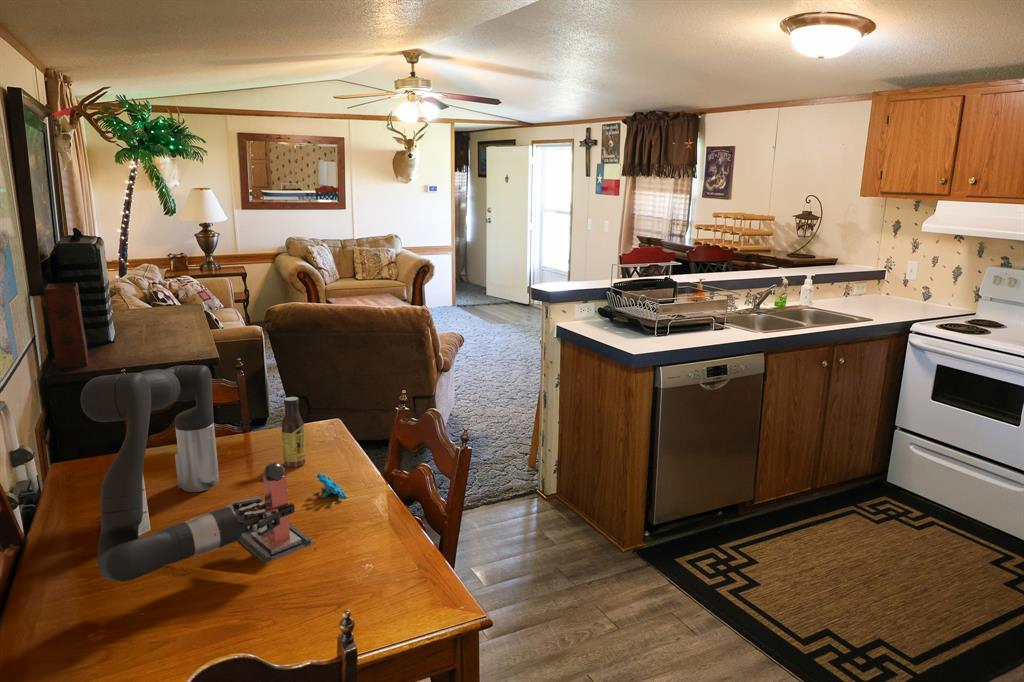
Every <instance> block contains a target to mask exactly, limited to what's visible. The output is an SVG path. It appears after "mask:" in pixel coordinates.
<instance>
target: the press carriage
mask: <svg viewBox="0 0 1024 682" xmlns="http://www.w3.org/2000/svg"><path fill="white" fill-rule="evenodd" d="M285 469H286V468H285V467H284V466H283V465H282V464H281V463H279V462H277V461H276V462H275V461H274V462H270V463H268V464H266V466H265V467H264V470H263V476H262V477H263V479H262V480H263V491H264V493H263V494H264V501H265V507H266V510H272V509H277V508H278V507H281V506H284V505H287V504H289V503H288V487H287V485H288V484H287V476H286V474H285V473H286V470H285ZM270 515H272V514H270ZM270 515H268V517H269V516H270ZM289 516H290V515H287V516H284V517H281V518H280V525H278V526H276V527H275V528H273V529H272V530H270V531H268V532H267V533H265V534H264V535H262V536H259V535H258V532H257V531H255V532H254V533H251V538H252V539H254V540H255V541H256V542H257V543H258V544H260V545H261V546H262V547H263V548H264V549H265V550H267V551H268V552H269V553H270V554H271V555H272V554H275V553H277V552H280V551H282V550H285V549H288V548H290V547H293V546H295V545H298V544H300V543H301V538H299V537H298V536H297V535H295V534H294V533H293V532H291V531H290V529H289V523H290V517H289Z"/></svg>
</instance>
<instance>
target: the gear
mask: <svg viewBox="0 0 1024 682" xmlns="http://www.w3.org/2000/svg"><path fill="white" fill-rule="evenodd" d="M316 478H317V479H318V481H319V482H320V483H322V484H323V488H322V489H323V490H325V492H324V493H323V494H322V495H321V498H326V497H328V496H329V495H331V494H334V495H336V494H337V496H338V497H339V498H340V499H341V500H342V499H348V496H347V495H346V494H345V492H344V490H343V489H342V488H341V486H340V485H339V484H337V483H336V482H335V481H334V480H333V479H332V478H331V477H330V476H327V475H326V474H322V473H321V472H318V473H317V475H316Z"/></svg>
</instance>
